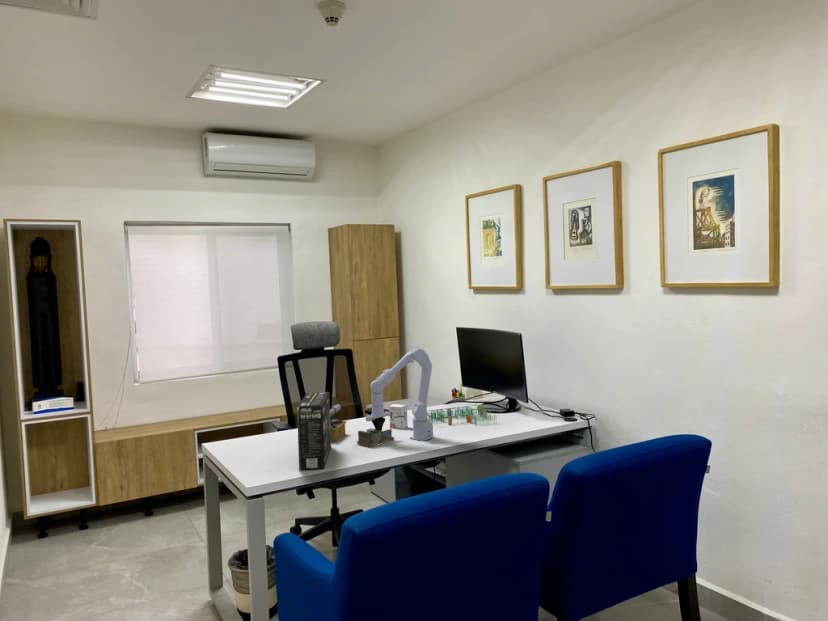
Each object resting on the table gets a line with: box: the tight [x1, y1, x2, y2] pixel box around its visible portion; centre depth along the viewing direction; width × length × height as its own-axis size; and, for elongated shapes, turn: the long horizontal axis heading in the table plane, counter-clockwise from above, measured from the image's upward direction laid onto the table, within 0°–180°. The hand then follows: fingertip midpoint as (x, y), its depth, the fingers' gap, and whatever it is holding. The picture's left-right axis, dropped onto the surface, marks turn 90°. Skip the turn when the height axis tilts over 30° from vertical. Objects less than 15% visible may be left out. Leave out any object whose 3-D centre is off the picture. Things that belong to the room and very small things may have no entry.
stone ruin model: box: [356, 428, 395, 448], centre depth 294 cm, size 16×9×6 cm, turn 138°
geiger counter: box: [330, 404, 347, 442], centre depth 302 cm, size 9×26×15 cm, turn 169°
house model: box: [427, 404, 497, 426], centre depth 334 cm, size 35×30×5 cm
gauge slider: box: [366, 428, 380, 434], centre depth 292 cm, size 3×7×4 cm, turn 48°
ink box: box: [388, 403, 409, 430], centre depth 322 cm, size 9×5×12 cm, turn 62°
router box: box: [296, 391, 332, 470], centre depth 271 cm, size 36×11×27 cm, turn 3°
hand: (378, 433), depth 296 cm, fingers closed
